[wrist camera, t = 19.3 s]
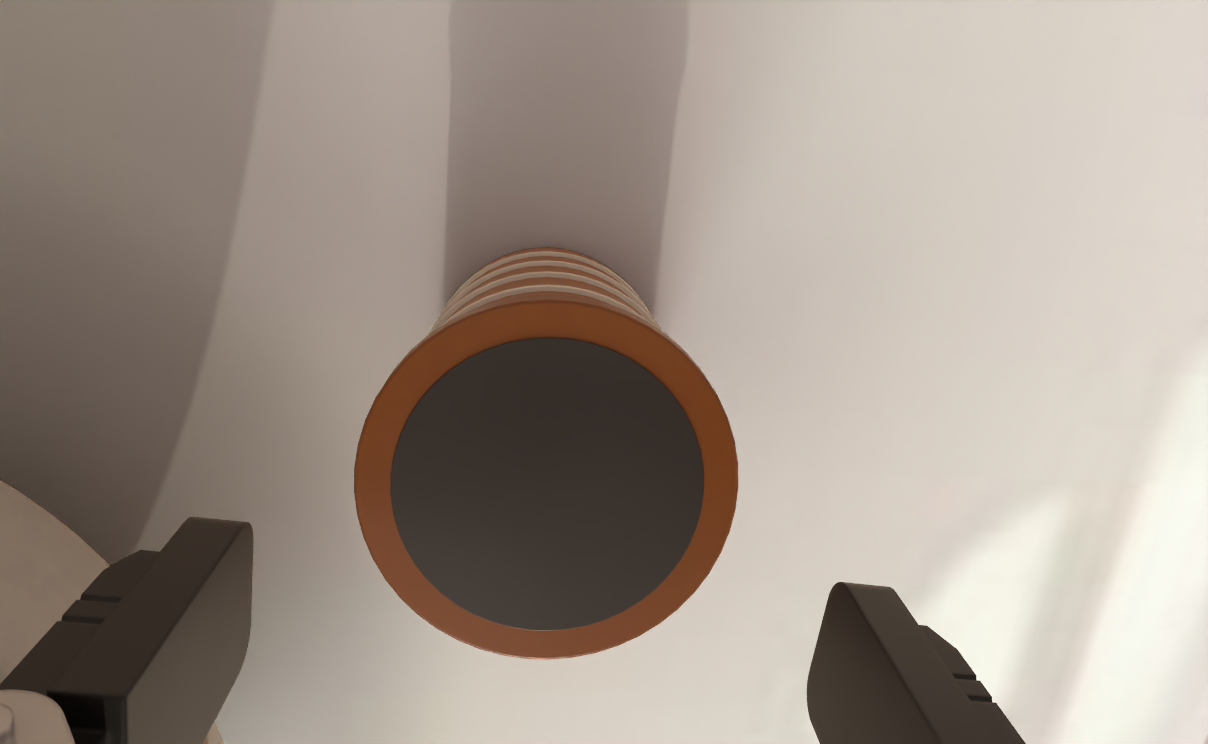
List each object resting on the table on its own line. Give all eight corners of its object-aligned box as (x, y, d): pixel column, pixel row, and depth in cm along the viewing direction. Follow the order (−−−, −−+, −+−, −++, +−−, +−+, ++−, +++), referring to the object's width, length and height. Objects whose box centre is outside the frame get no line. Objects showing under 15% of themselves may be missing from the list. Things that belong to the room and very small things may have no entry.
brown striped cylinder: (679, 253, 24) (642, 474, 25) (441, 220, 23) (418, 448, 25) (771, 328, 14) (704, 677, 16) (369, 275, 14) (338, 644, 15)
